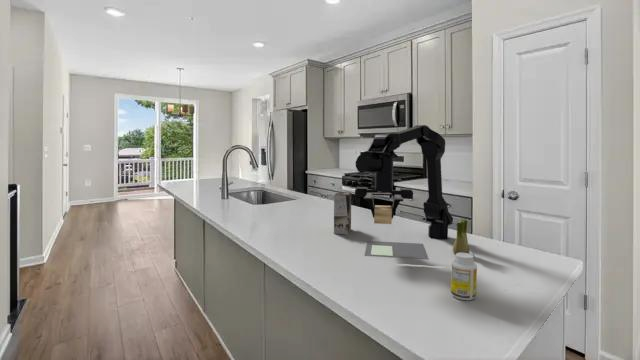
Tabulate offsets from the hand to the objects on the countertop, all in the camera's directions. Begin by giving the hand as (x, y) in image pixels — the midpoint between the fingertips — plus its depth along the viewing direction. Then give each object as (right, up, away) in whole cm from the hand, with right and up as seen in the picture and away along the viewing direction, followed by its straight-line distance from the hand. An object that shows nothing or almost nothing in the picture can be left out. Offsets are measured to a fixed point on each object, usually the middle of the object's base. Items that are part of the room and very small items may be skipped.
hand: (382, 218), depth 118 cm
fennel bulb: (+25, -12, -2) cm, 28 cm away
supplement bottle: (+13, -15, -33) cm, 39 cm away
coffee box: (-12, -9, +30) cm, 33 cm away
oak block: (0, -1, 0) cm, 1 cm away
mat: (+5, -12, +3) cm, 13 cm away
